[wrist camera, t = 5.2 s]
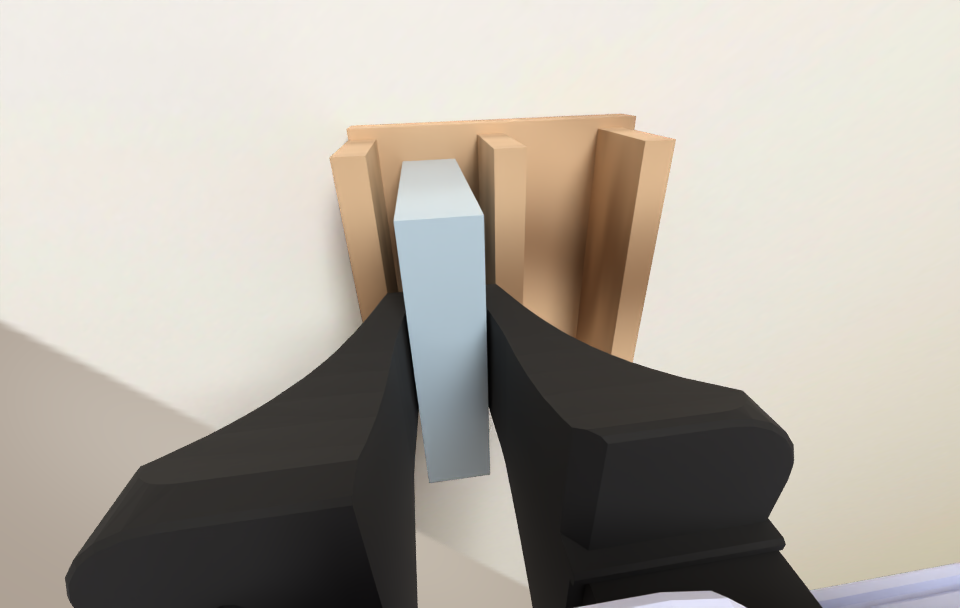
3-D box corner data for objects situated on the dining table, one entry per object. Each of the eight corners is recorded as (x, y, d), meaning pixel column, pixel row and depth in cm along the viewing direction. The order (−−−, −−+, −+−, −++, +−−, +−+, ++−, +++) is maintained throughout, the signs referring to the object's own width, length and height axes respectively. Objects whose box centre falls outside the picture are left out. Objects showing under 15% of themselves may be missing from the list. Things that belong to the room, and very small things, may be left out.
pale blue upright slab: (465, 345, 16) (490, 474, 11) (424, 349, 16) (429, 483, 10) (455, 158, 12) (483, 214, 7) (402, 161, 12) (393, 221, 7)
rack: (592, 338, 18) (635, 400, 14) (390, 359, 17) (384, 431, 13) (621, 113, 13) (693, 125, 10) (351, 125, 12) (326, 143, 9)
